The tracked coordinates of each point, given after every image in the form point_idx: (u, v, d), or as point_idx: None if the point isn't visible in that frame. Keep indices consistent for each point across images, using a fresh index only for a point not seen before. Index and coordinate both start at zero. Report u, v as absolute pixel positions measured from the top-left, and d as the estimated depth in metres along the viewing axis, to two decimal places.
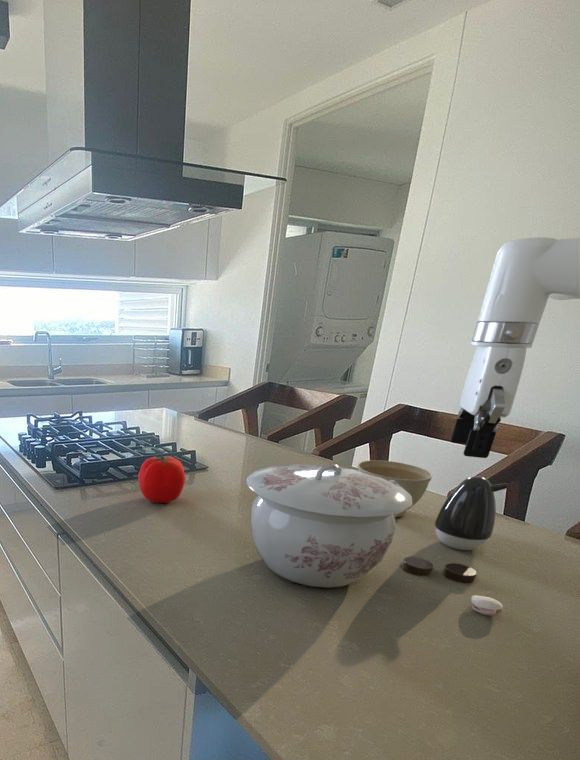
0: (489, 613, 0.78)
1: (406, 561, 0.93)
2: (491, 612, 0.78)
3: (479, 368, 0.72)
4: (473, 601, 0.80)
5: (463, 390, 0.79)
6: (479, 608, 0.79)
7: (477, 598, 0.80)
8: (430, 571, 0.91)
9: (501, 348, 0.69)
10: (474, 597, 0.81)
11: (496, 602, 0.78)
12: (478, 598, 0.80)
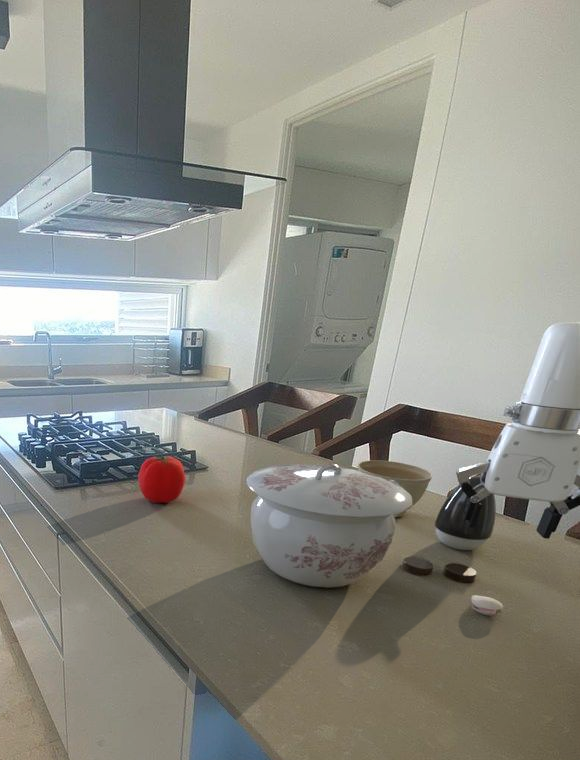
0: (489, 613, 0.78)
1: (406, 561, 0.93)
2: (491, 612, 0.78)
3: None
4: (473, 601, 0.80)
5: None
6: (479, 608, 0.79)
7: (477, 598, 0.80)
8: (430, 571, 0.91)
9: None
10: (474, 597, 0.81)
11: (496, 602, 0.78)
12: (478, 598, 0.80)
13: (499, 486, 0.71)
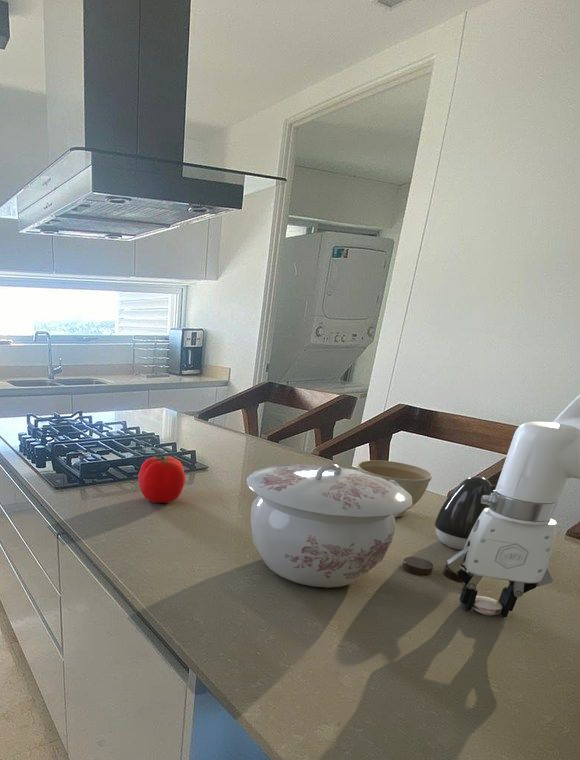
0: (489, 613, 0.78)
1: (406, 561, 0.93)
2: (491, 612, 0.78)
3: None
4: None
5: None
6: (479, 608, 0.79)
7: (477, 598, 0.80)
8: (430, 571, 0.91)
9: (483, 510, 0.76)
10: None
11: (496, 602, 0.78)
12: (478, 598, 0.80)
13: (478, 568, 0.76)
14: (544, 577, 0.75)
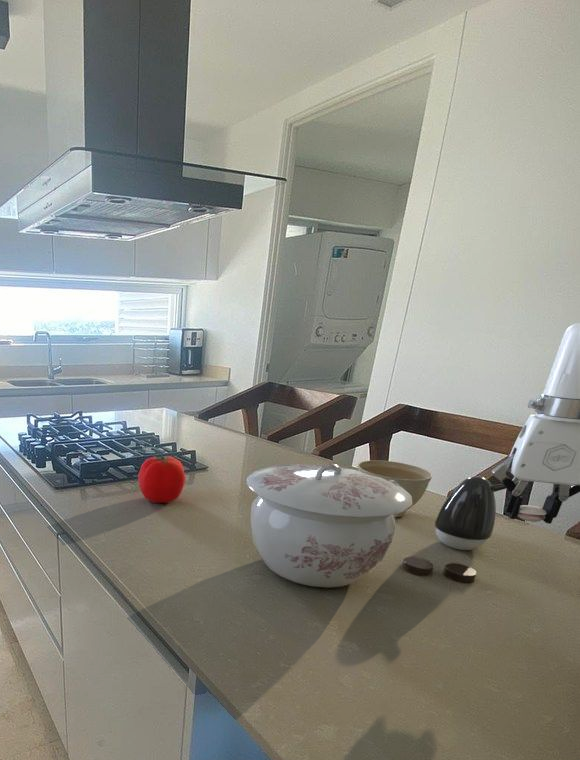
0: (534, 519, 0.81)
1: (406, 561, 0.93)
2: (535, 518, 0.81)
3: None
4: None
5: None
6: (523, 515, 0.81)
7: (521, 506, 0.82)
8: (430, 571, 0.91)
9: (530, 416, 0.78)
10: None
11: (540, 508, 0.81)
12: (522, 506, 0.82)
13: (525, 472, 0.78)
14: None
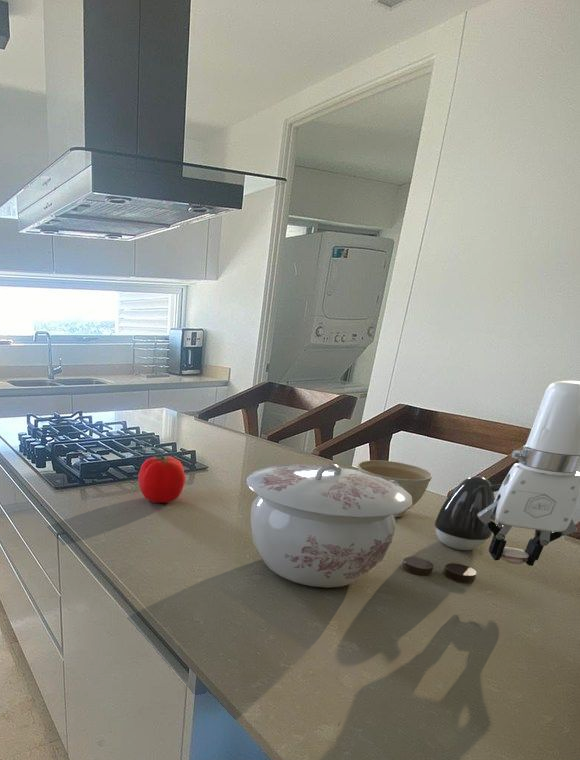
0: (516, 561, 0.85)
1: (406, 561, 0.93)
2: (518, 561, 0.85)
3: None
4: None
5: None
6: (507, 557, 0.86)
7: (505, 548, 0.86)
8: (430, 571, 0.91)
9: (513, 465, 0.82)
10: None
11: (523, 551, 0.85)
12: (506, 548, 0.86)
13: (508, 518, 0.82)
14: (569, 527, 0.81)
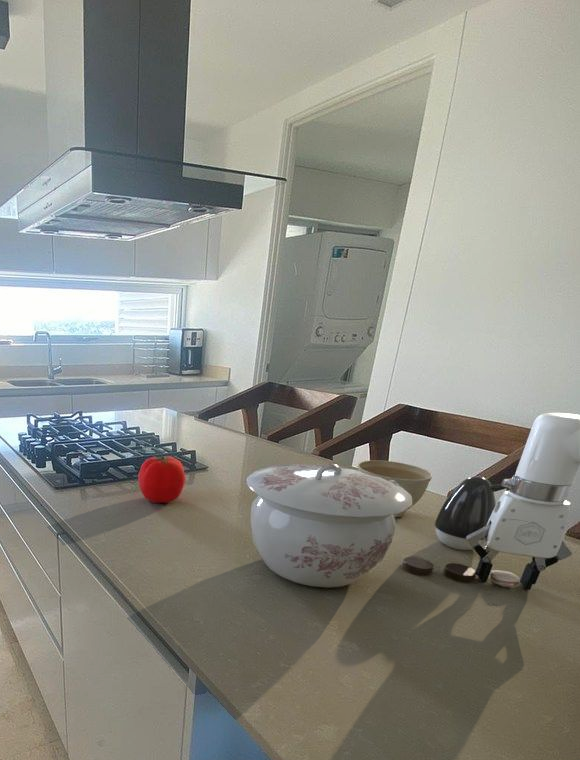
0: (507, 585, 0.87)
1: (406, 561, 0.93)
2: (509, 584, 0.87)
3: None
4: (493, 575, 0.88)
5: None
6: (498, 581, 0.88)
7: (496, 572, 0.88)
8: (430, 571, 0.91)
9: (503, 493, 0.84)
10: (493, 571, 0.89)
11: (514, 575, 0.87)
12: (497, 572, 0.88)
13: (499, 544, 0.84)
14: (563, 551, 0.83)
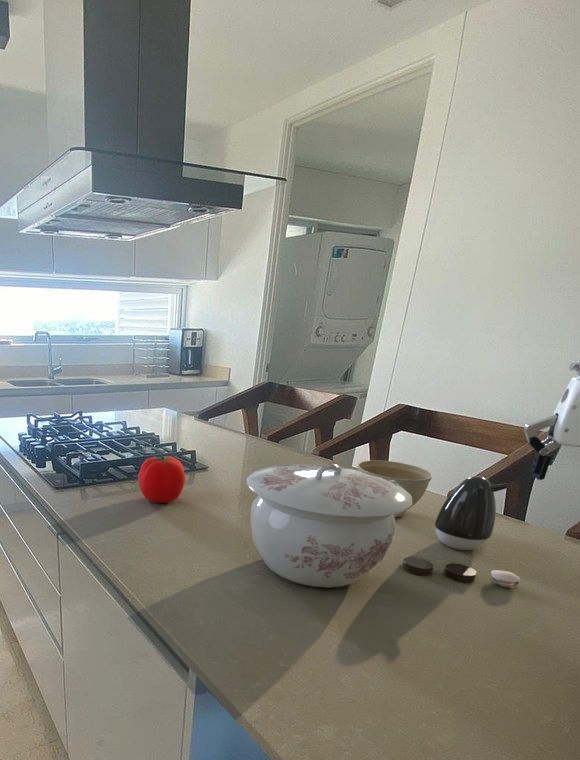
0: (507, 585, 0.87)
1: (406, 561, 0.93)
2: (509, 584, 0.87)
3: None
4: (493, 575, 0.88)
5: None
6: (498, 581, 0.88)
7: (496, 572, 0.88)
8: (430, 571, 0.91)
9: None
10: (493, 571, 0.89)
11: (514, 575, 0.87)
12: (497, 572, 0.88)
13: (569, 437, 0.75)
14: None
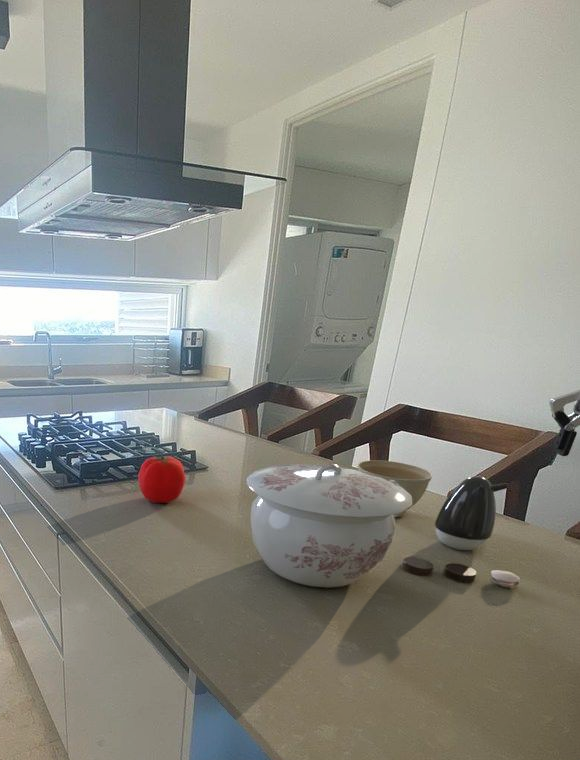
0: (507, 585, 0.87)
1: (406, 561, 0.93)
2: (509, 584, 0.87)
3: None
4: (493, 575, 0.88)
5: None
6: (498, 581, 0.88)
7: (496, 572, 0.88)
8: (430, 571, 0.91)
9: None
10: (493, 571, 0.89)
11: (514, 575, 0.87)
12: (497, 572, 0.88)
13: None
14: None
